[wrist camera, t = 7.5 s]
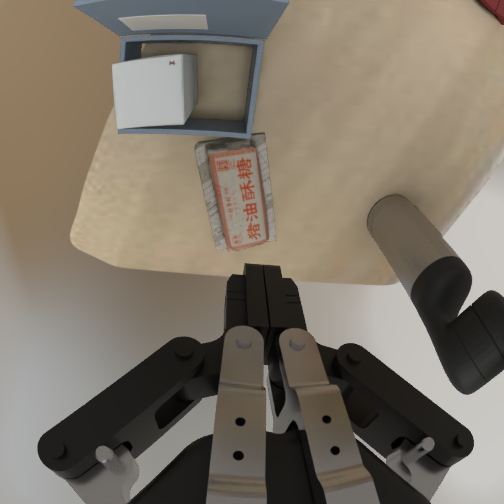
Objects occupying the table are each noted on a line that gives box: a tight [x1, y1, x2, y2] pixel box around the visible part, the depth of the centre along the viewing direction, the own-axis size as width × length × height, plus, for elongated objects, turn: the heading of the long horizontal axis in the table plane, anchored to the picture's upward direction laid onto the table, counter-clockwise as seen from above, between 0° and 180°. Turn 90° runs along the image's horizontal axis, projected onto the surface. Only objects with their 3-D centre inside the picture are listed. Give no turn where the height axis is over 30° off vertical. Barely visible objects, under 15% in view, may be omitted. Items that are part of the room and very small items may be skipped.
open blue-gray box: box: [118, 35, 264, 139], centre depth 33 cm, size 16×12×7 cm
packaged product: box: [194, 133, 276, 251], centre depth 45 cm, size 18×5×10 cm
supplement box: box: [112, 54, 198, 129], centre depth 31 cm, size 7×7×13 cm
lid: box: [74, 0, 289, 39], centre depth 21 cm, size 16×12×1 cm
